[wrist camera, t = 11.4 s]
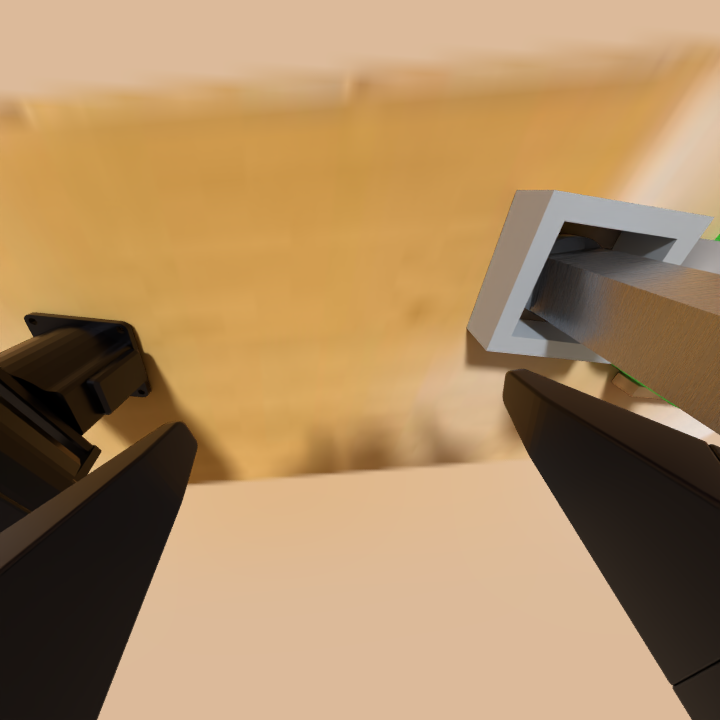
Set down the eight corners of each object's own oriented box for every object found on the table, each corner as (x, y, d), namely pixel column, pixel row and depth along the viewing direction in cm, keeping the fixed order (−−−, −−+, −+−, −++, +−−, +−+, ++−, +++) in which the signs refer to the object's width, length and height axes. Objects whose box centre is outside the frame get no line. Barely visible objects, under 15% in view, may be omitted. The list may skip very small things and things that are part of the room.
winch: (466, 328, 21) (489, 354, 18) (516, 190, 16) (560, 189, 13) (631, 346, 22) (682, 374, 19) (720, 223, 18) (808, 232, 14)
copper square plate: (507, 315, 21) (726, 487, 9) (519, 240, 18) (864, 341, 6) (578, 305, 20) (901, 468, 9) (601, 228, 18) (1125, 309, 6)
